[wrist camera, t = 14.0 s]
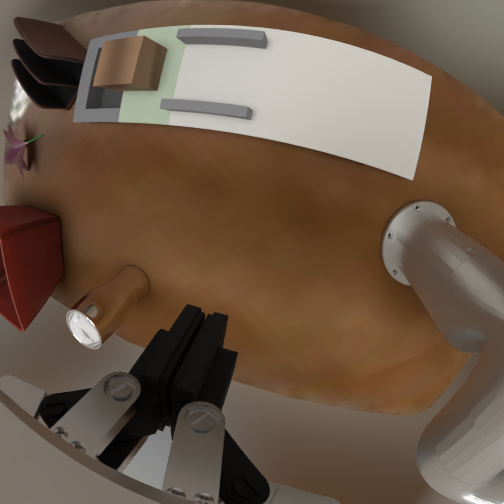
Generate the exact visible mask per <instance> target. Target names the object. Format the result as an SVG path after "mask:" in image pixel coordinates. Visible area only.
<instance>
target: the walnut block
mask: <svg viewBox="0 0 504 504" xmlns="http://www.w3.org/2000/svg"><path fill="white" fill-rule="evenodd" d="M166 53H167V49H166V48H165V47H163V46H162V45H160V44H158V43H156V42H155V41H153V40H151V39H150V38H148V37H146V36H144V35H143V36H135V37H128V38H122V39H116V40H110V41H105V42H104V43H103V47H102V50H101V54H100V58H99V61H98V65H97V69H96V74H95V78H94V83H93V86H94V87H100V88H106V89H111V90H116V91H158V86H159V82H160V77H161V73H162V69H163V65H164V61H165V57H166Z"/></svg>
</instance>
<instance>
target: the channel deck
mask: <svg viewBox="0 0 504 504" xmlns="http://www.w3.org/2000/svg"><path fill="white" fill-rule="evenodd" d="M143 35H144V36H146V37H148V38H150V39H151V40H153V41H155V42H156V43H158V44H160V45H162V46H163V47H165V48H166V49H167V53H166V57H165V61H164V65H163V69H162V73H161V77H160V82H159V86H158V91H116V90H111V89H106V88H100V87H94V86H93V83H94V78H95V74H96V69H97V65H98V61H99V58H100V54H101V50H102V47H103V43H104V42H105V41H110V40H116V39H122V38H128V37H135V36H143ZM431 79H432V76H430V75H427V74H425V73H423V72H421V71H419V70H417V69H415V68H412V67H410V66H408V65H405V64H403V63H400V62H398V61H395V60H393V59H390V58H388V57H385V56H382V55H380V54H377V53H374V52H371V51H368V50H365V49H362V48H358V47H355V46H352V45H348V44H345V43H341V42H337V41H333V40H329V39H325V38H321V37H316V36H311V35H307V34H301V33H296V32H290V31H283V30H276V29H268V28H259V27H247V26H231V25H187V26H170V27H159V28H150V29H142V30H135V31H129V32H123V33H118V34H113V35H108V36H103V37H99V38H95V39H91V40H90V43H89V47H88V50H87V54H86V58H85V62H84V66H83V70H82V74H81V79H80V84H79V89H78V94H77V99H76V105H75V112H74V119H73V122H124V123H146V124H161V125H173V126H183V127H193V128H201V129H209V130H216V131H223V132H230V133H236V134H242V135H248V136H253V137H259V138H264V139H269V140H274V141H279V142H283V143H288V144H292V145H297V146H301V147H305V148H309V149H313V150H317V151H321V152H325V153H329V154H332V155H336V156H339V157H343V158H346V159H350V160H353V161H356V162H360V163H363V164H366V165H369V166H372V167H375V168H378V169H381V170H384V171H387V172H390V173H393V174H396V175H398V176H401V177H404V178H407V179H410V180H413V178H414V174H415V170H416V166H417V161H418V157H419V153H420V148H421V143H422V138H423V133H424V128H425V122H426V116H427V110H428V103H429V96H430V88H431Z"/></svg>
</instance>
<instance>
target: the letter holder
mask: <svg viewBox="0 0 504 504" xmlns="http://www.w3.org/2000/svg"><path fill="white" fill-rule="evenodd" d="M13 21H14V25H15V27H16V29H17V31H18V33H19V34H20V36H21V37H22V39H23V40H20V39H14V40H13V46H14V49H15V51H16V53H17V55H18V57H19V59H20V60H18V59H13V60H12V61H11V66H12V69H13V71H14V73H15V75H16V77H17V79H18V81H19V83H20V85H21V86H22V88H23V89H24V91H25V92H26V94H27V95H28V96H29V98H30V99H31V100H32V101H33V102H34V103H35V104H36V105H37V106H38V107H40V108H44V109H66V110H69V109H70V108H71V106H72V105H73V103H74V101H75V100H76V98H77V94H78V89H79V84H80V79H81V74H82V70H83V66H84V62H85V58H86V54H87V51H86V50H85V49H84V48H83V47H82V46H81V45H80V44H79V43H78V42H77V41H76V40H75V39H74V38H73V37H72V36H71V35H70V34H69V33H68V32H67V31H66V30H65V29H64V28H63V27H62V26H61V25H59V24H54V23H50V22H45V21H40V20H35V19H29V18H22V17H16V18H14V20H13Z"/></svg>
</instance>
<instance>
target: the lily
mask: <svg viewBox="0 0 504 504" xmlns="http://www.w3.org/2000/svg"><path fill="white" fill-rule="evenodd" d="M3 131H4V135H5V137H6V140H7V142H8V144H9V145H8V146H7V148H6V150H5V156H4V160H5V162H6V163H7V164H15V163H16V162H17V166H18V168H19V171H20V173H21V175H22V176H23V178H24V175H23V169H25V170H27V171H29V169H28V167H27V165H26V163H25V161H24V159H23V156H24V151H25V147H26V144H27V143H29V142H31V141H33V140H35V139H37V138H39V137H41V136H43V135H40V136H38V137H36V138H34V139H32V140H30V141H28V142H24V141H22V140H19V139H17V138H15V136H14V134H13V131H12V127H11V124H10V122H9V124H8V132H7V131H5V130H4V129H3Z"/></svg>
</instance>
